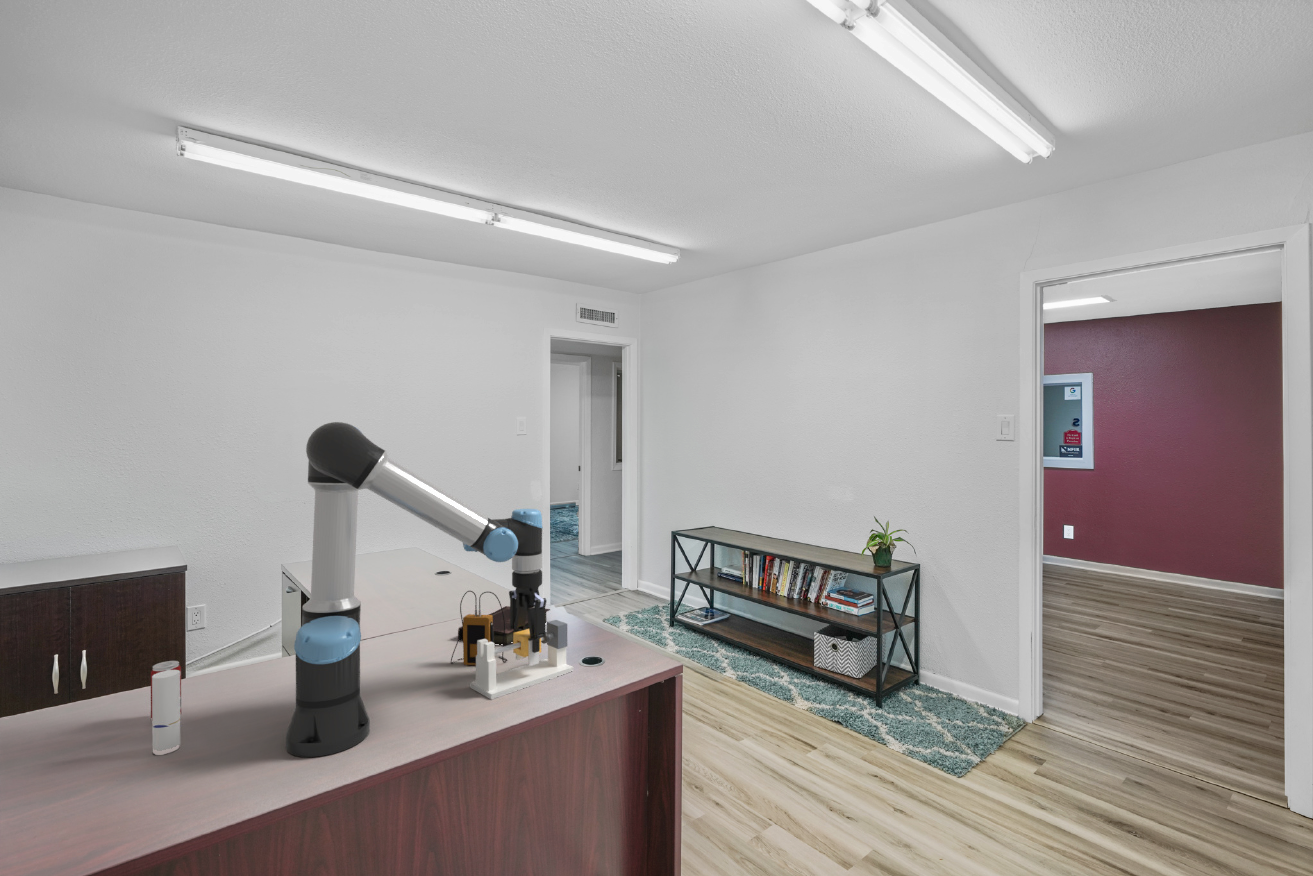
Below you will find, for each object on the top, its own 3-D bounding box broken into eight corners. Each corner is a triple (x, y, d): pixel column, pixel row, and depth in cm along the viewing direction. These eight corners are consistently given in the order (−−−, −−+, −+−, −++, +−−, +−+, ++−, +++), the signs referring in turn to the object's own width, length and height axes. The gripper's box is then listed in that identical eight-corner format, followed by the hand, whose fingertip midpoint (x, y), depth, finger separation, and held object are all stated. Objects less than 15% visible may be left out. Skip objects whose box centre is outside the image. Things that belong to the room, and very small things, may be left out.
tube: (177, 742, 125) (176, 668, 125) (183, 749, 122) (182, 673, 122) (150, 750, 122) (149, 674, 122) (155, 757, 119) (155, 680, 119)
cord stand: (491, 699, 145) (491, 648, 145) (470, 687, 152) (469, 638, 152) (573, 671, 162) (573, 625, 162) (550, 661, 169) (550, 617, 169)
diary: (457, 642, 187) (456, 626, 187) (504, 619, 211) (503, 604, 211) (510, 648, 181) (510, 631, 181) (552, 624, 204) (552, 608, 204)
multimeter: (514, 653, 175) (514, 583, 175) (502, 667, 165) (502, 592, 165) (464, 652, 177) (464, 582, 177) (449, 665, 167) (449, 591, 167)
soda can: (145, 725, 132) (145, 669, 132) (158, 715, 137) (157, 661, 137) (174, 722, 134) (174, 667, 134) (185, 712, 139) (185, 658, 139)
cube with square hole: (524, 657, 154) (524, 637, 154) (513, 652, 158) (513, 632, 158) (541, 652, 158) (541, 632, 158) (530, 647, 161) (530, 628, 161)
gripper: (560, 573, 154) (560, 666, 154) (520, 562, 167) (520, 649, 167) (534, 578, 149) (535, 675, 149) (495, 567, 161) (495, 656, 162)
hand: (527, 661), depth 158 cm, fingers closed on cube with square hole, 5 cm apart
